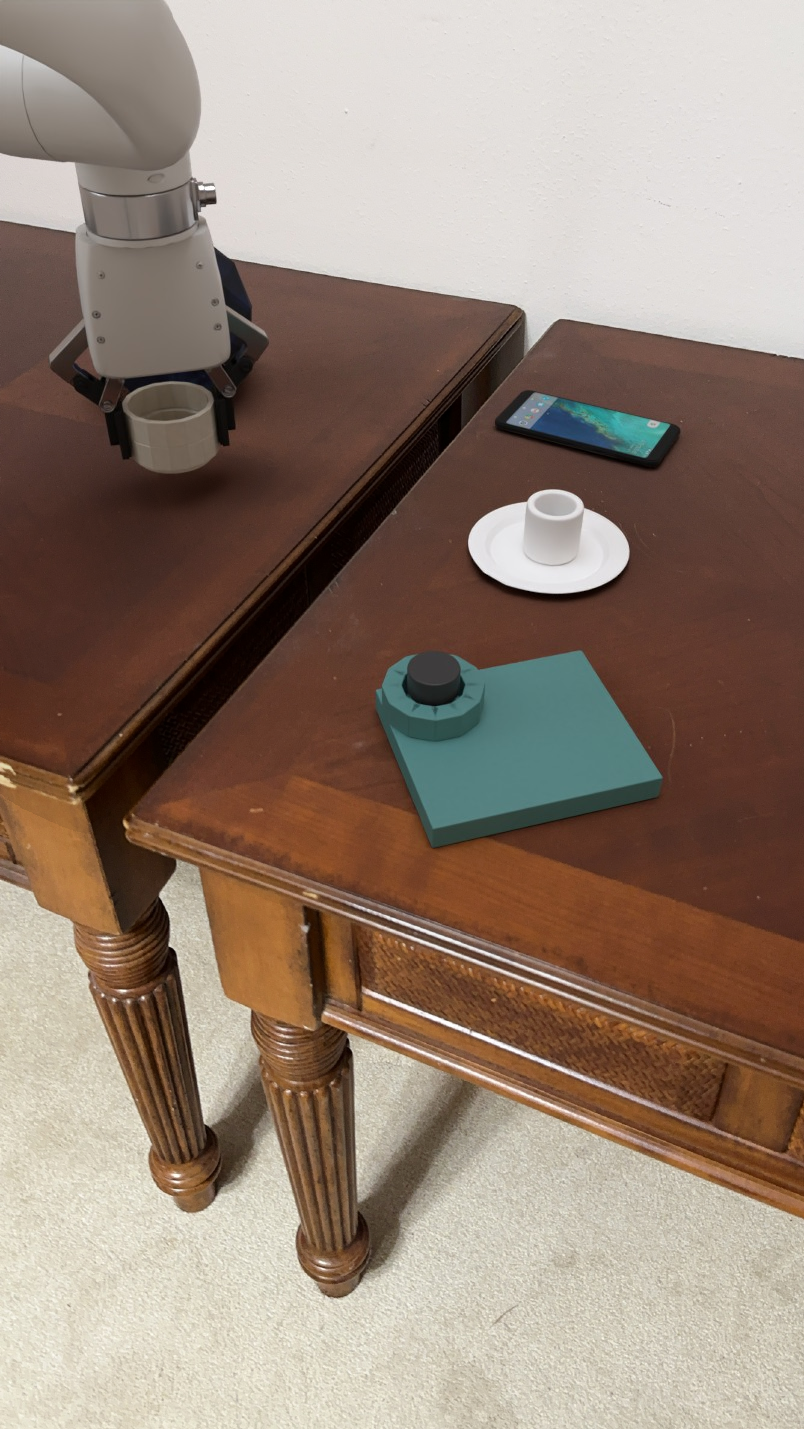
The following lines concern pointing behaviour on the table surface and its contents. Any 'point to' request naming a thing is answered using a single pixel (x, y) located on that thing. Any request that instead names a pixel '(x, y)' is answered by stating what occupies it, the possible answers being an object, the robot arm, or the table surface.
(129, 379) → the decorative orb
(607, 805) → the teal dial base
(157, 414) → the bowl
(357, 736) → the table surface
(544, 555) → the candle holder
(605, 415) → the smartphone
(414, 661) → the button
